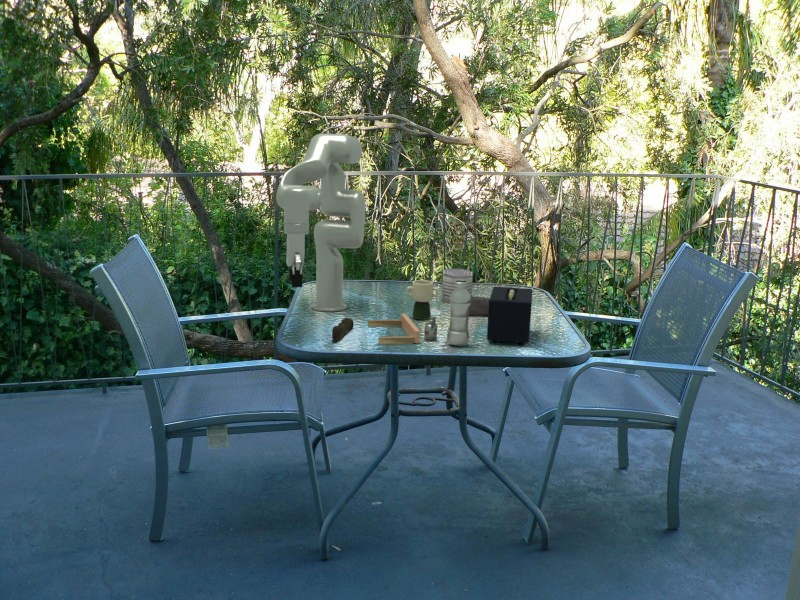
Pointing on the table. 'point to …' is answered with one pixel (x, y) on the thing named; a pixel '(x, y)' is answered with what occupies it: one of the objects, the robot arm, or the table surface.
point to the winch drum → (431, 330)
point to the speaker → (509, 315)
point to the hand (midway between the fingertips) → (295, 284)
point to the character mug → (422, 297)
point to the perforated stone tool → (479, 306)
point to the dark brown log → (341, 329)
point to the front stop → (410, 328)
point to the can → (450, 279)
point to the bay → (391, 339)
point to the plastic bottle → (459, 314)
